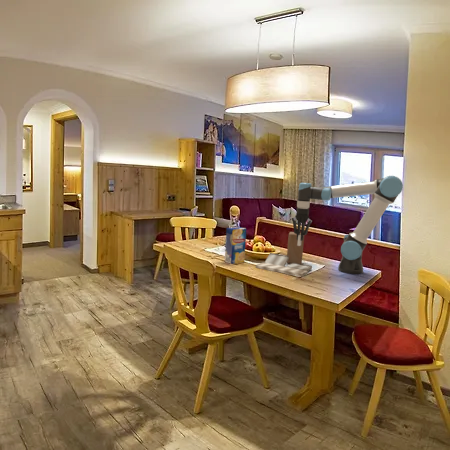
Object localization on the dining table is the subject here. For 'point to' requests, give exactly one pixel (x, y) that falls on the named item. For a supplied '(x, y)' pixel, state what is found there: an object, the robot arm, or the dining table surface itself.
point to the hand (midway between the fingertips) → (299, 245)
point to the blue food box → (235, 245)
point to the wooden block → (294, 249)
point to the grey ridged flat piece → (277, 259)
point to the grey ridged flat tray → (281, 269)
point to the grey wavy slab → (300, 266)
